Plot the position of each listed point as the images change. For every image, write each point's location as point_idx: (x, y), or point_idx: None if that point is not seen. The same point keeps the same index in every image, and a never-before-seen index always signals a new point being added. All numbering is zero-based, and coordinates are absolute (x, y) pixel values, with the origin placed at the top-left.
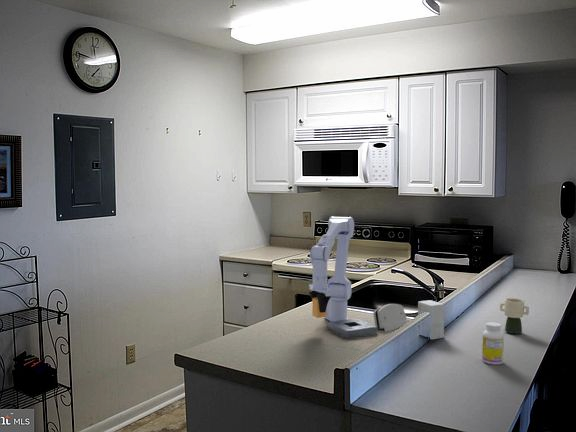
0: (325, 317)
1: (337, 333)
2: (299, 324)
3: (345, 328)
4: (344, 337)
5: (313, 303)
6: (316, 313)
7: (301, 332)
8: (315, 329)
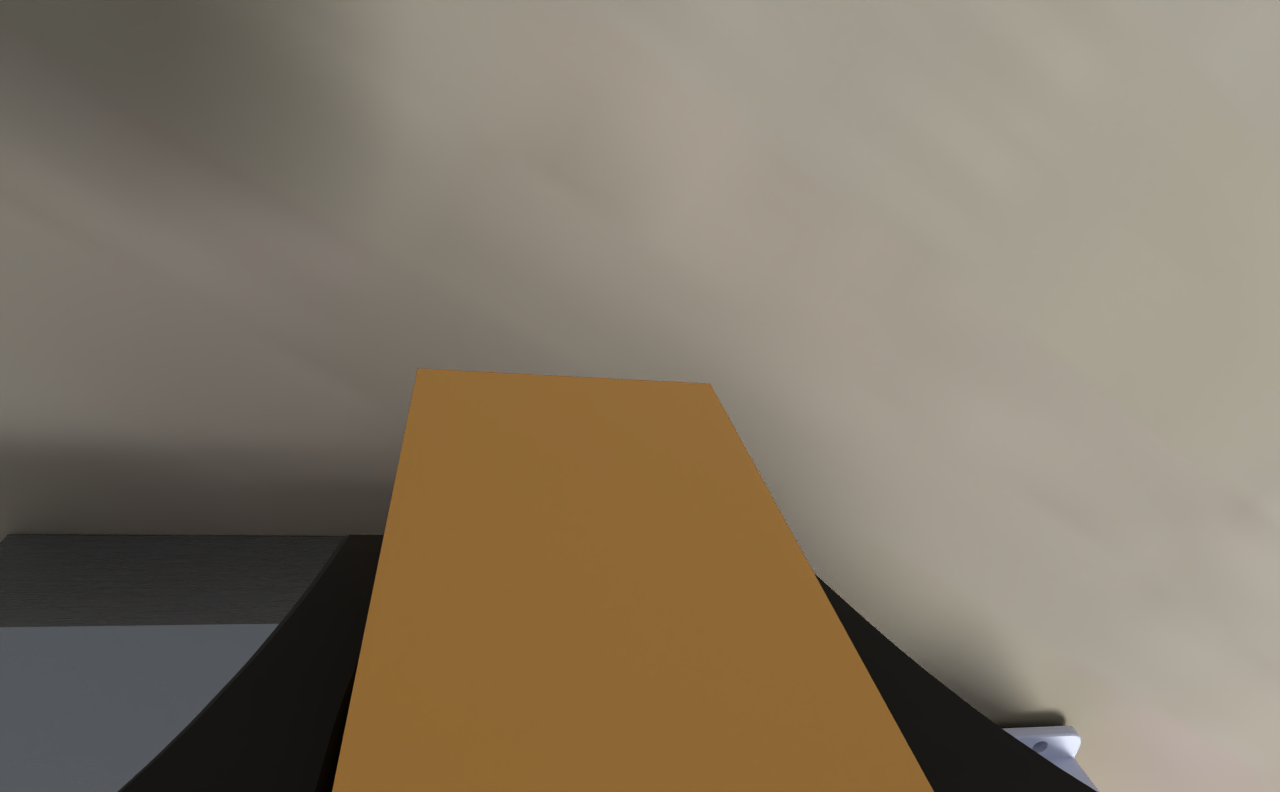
0: (1053, 738)
1: (319, 544)
2: (1127, 311)
3: (122, 682)
4: (81, 539)
5: (749, 622)
6: (470, 426)
7: (752, 64)
8: (748, 384)
